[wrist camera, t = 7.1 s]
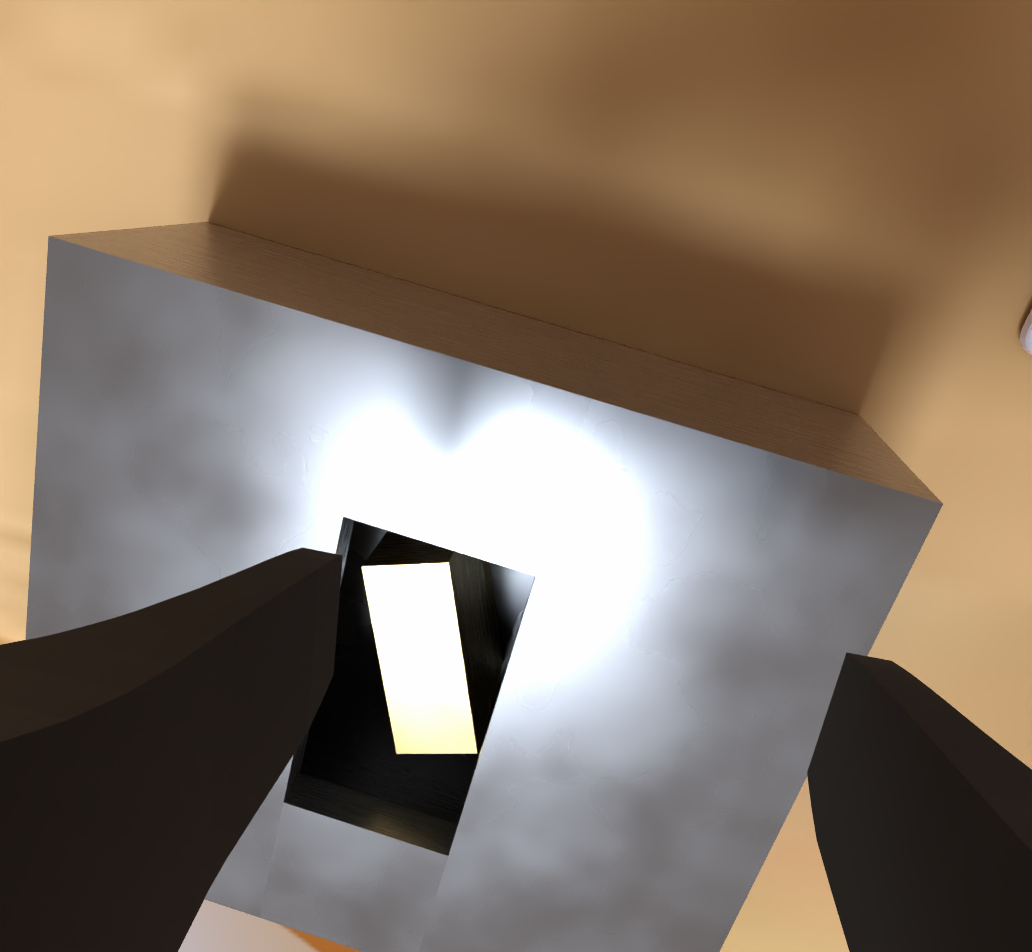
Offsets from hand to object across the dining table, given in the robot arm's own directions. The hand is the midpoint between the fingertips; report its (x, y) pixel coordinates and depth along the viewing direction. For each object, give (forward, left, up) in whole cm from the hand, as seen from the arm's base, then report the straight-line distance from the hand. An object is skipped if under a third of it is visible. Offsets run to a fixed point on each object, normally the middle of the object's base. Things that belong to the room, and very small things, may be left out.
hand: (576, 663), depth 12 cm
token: (+3, +5, -10) cm, 11 cm away
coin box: (+3, +5, -10) cm, 12 cm away
